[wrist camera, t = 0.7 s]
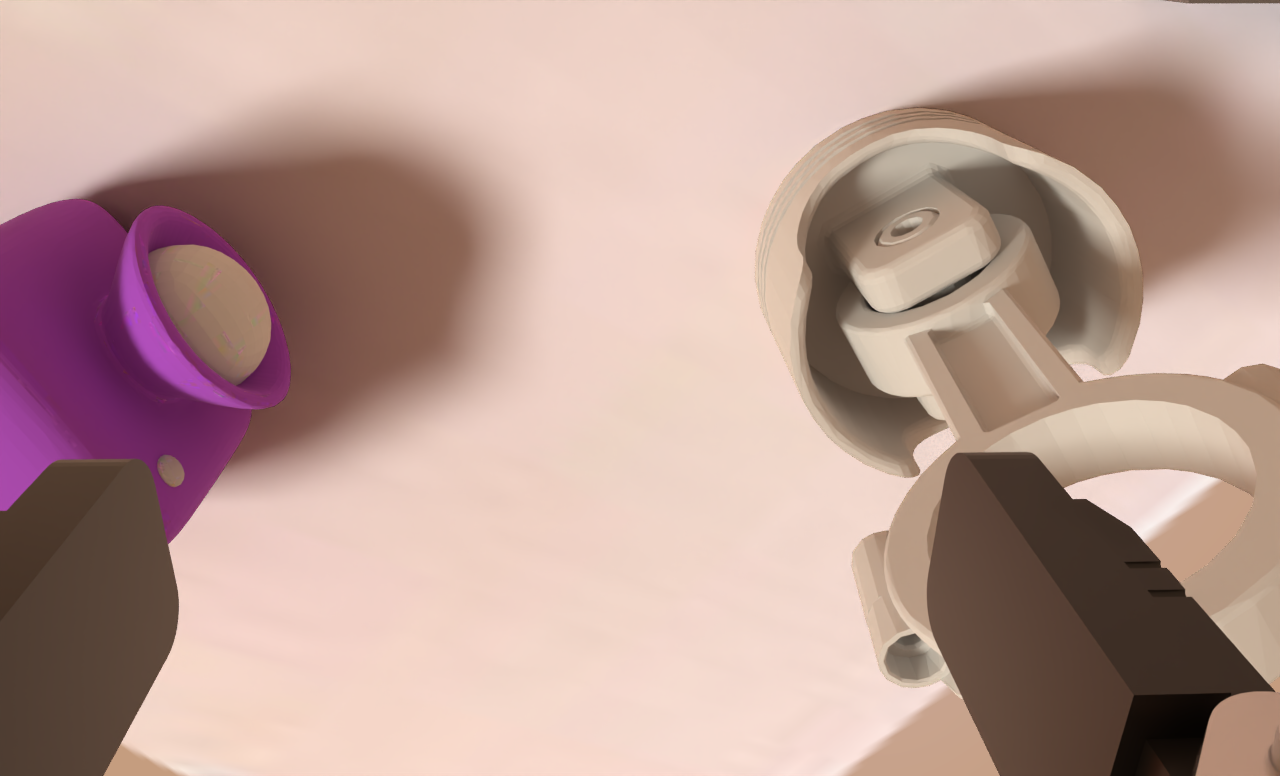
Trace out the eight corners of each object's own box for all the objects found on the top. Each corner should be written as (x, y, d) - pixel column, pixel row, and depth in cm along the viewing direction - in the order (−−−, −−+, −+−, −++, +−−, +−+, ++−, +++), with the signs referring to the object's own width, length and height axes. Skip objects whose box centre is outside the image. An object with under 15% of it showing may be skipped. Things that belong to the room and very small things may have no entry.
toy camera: (380, 328, 35) (310, 470, 26) (110, 549, 38) (-41, 747, 29) (128, 70, 31) (-61, 129, 22) (-151, 338, 34) (-421, 488, 25)
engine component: (1090, 304, 36) (979, 46, 32) (1648, 716, 17) (1539, 211, 13) (813, 452, 37) (677, 224, 34) (1043, 970, 19) (796, 590, 15)
